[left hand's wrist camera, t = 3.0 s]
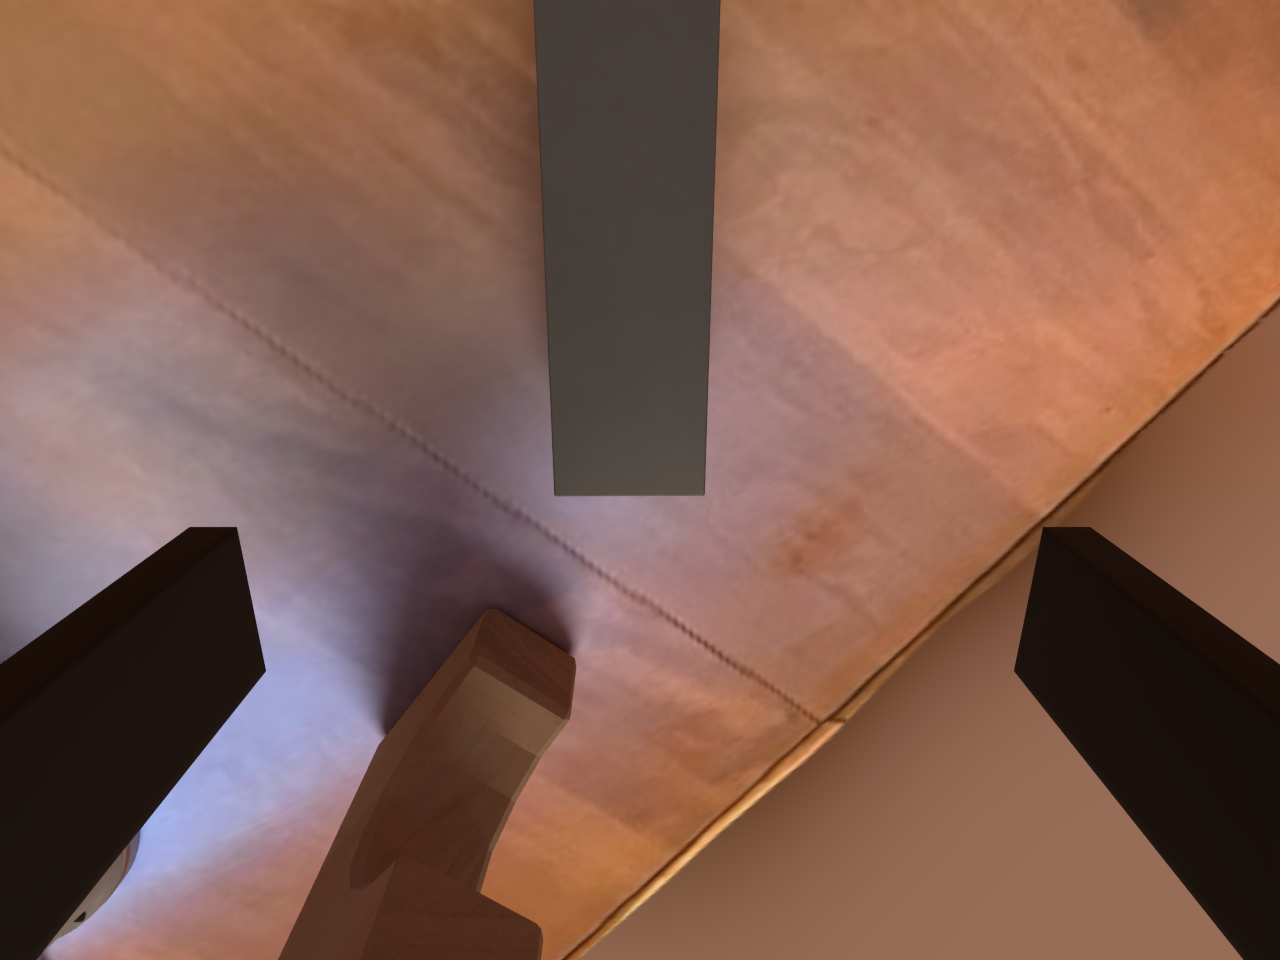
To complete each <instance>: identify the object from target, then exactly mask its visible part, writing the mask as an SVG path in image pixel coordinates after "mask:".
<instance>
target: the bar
mask: <svg viewBox="0 0 1280 960" xmlns="http://www.w3.org/2000/svg"><path fill="white" fill-rule="evenodd" d="M534 20H535V44H536V68H537V92H538V116H539V139H540V163H541V187H542V211H543V235H544V259H545V282H546V306H547V330H548V354H549V378H550V402H551V425H552V449H553V473H554V495H555V496H704V494H705V469H706V437H707V406H708V374H709V343H710V312H711V280H712V249H713V217H714V186H715V154H716V123H717V91H718V60H719V28H720V0H534Z"/></svg>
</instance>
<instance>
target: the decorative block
mask: <svg viewBox="0 0 1280 960" xmlns="http://www.w3.org/2000/svg"><path fill="white" fill-rule="evenodd" d="M575 673H576V663H575V658H573V657H572V656H570V655H569V654H567V653H565V652H564V651H562V650H561V649H559V648H558V647H556V646H554V645H553V644H551V643H550V642H548V641H547V640H545V639H543V638H542V637H540V636H539V635H537V634H536V633H534V632H533V631H531V630H529V629H528V628H526V627H525V626H523V625H522V624H520V623H518V622H517V621H515V620H514V619H512V618H511V617H509V616H508V615H506V614H504V613H503V612H501V611H500V610H498V609H497V608H495V609H487V610H486V611H485V612H484V613H483V614H482V616H481V617H480V618H479V619H478V621H477V622H476V623H475V624H474V626H473V627H472V628H471V629H470V631H469V632H468V633H467V634H466V636H465V637H464V638H463V639H462V641H461V642H460V643H459V645H458V646H457V647H456V648H455V650H454V651H453V652H452V653H451V655H450V656H449V657H448V658H447V660H446V661H445V662H444V663H443V665H442V666H441V667H440V668H439V670H438V671H437V672H436V673H435V675H434V676H433V677H432V678H431V680H430V681H429V682H428V684H427V685H426V686H425V687H424V689H423V690H422V691H421V692H420V694H419V695H418V696H417V697H416V699H415V700H414V701H413V702H412V704H411V705H410V706H409V708H408V709H407V710H406V711H405V713H404V714H403V715H402V716H401V718H400V719H399V720H398V721H397V723H396V724H395V725H394V726H393V728H392V729H391V730H390V731H389V733H388V734H387V735H386V737H385V738H384V739H383V740H382V742H381V743H380V744H379V746H378V748H377V750H376V752H375V754H374V756H373V758H372V761H371V763H370V765H369V767H368V769H367V771H366V773H365V775H364V778H363V780H362V782H361V784H360V786H359V788H358V790H357V793H356V795H355V797H354V799H353V801H352V803H351V805H350V807H349V810H348V812H347V814H346V816H345V818H344V820H343V822H342V824H341V827H340V829H339V831H338V833H337V835H336V837H335V839H334V842H333V844H332V846H331V848H330V850H329V852H328V854H327V857H326V859H325V861H324V863H323V865H322V867H321V869H320V872H319V874H318V876H317V878H316V880H315V882H314V884H313V887H312V889H311V891H310V893H309V895H308V897H307V899H306V901H305V904H304V906H303V908H302V910H301V912H300V914H299V916H298V919H297V921H296V923H295V925H294V927H293V929H292V931H291V933H290V936H289V938H288V940H287V942H286V944H285V946H284V948H283V950H282V953H281V955H280V957H279V959H278V960H541V953H542V944H543V936H542V931H541V928H540V927H539V926H538V925H537V924H536V923H534V922H532V921H531V920H529V919H527V918H525V917H523V916H521V915H519V914H518V913H516V912H514V911H512V910H510V909H508V908H506V907H505V906H503V905H501V904H499V903H497V902H495V901H493V900H492V899H490V898H488V897H486V896H484V895H482V894H480V891H481V888H482V884H483V881H484V878H485V874H486V871H487V867H488V864H489V861H490V857H491V854H492V852H493V849H494V847H495V845H496V843H497V841H498V839H499V837H500V834H501V832H502V830H503V828H504V826H505V824H506V821H507V819H508V817H509V815H510V813H511V811H512V809H513V806H514V804H515V802H516V800H517V799H518V797H519V795H520V793H521V792H522V790H523V788H524V786H525V785H526V783H527V781H528V779H529V778H530V776H531V774H532V773H533V771H534V769H535V767H536V766H537V764H538V762H539V760H540V759H541V757H542V755H543V754H544V753H545V751H546V750H547V749H548V748H549V746H550V745H551V744H552V742H553V741H554V740H555V738H556V737H557V736H558V734H559V733H560V732H561V730H562V729H563V728H564V726H565V725H566V724H567V722H568V721H569V720H570V714H571V706H572V698H573V690H574V682H575Z"/></svg>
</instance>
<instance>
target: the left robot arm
mask: <svg viewBox="0 0 1280 960" xmlns="http://www.w3.org/2000/svg"><path fill="white" fill-rule="evenodd" d="M265 672H266V669H265V664H264V659H263V654H262V649H261V644H260V639H259V634H258V629H257V624H256V619H255V614H254V609H253V604H252V600H251V595H250V590H249V585H248V580H247V575H246V570H245V565H244V560H243V555H242V550H241V545H240V540H239V535H238V531H237V527H189V528H188V529H186V530H185V531H184V532H182V533H181V534H180V535H178V536H177V537H175V538H174V539H173V540H171V541H170V542H169V543H167V544H166V545H164V546H163V547H162V548H160V549H159V550H158V551H156V552H155V553H153V554H152V555H151V556H149V557H148V558H146V559H145V560H144V561H142V562H141V563H140V564H138V565H137V566H135V567H134V568H133V569H131V570H130V571H129V572H127V573H126V574H124V575H123V576H122V577H120V578H119V579H118V580H116V581H115V582H113V583H112V584H111V585H109V586H108V587H106V588H105V589H104V590H102V591H101V592H100V593H98V594H97V595H95V596H94V597H93V598H91V599H90V600H89V601H87V602H86V603H84V604H83V605H82V606H80V607H79V608H78V609H76V610H75V611H73V612H72V613H71V614H69V615H68V616H66V617H65V618H64V619H62V620H61V621H60V622H58V623H57V624H55V625H54V626H53V627H51V628H50V629H49V630H47V631H46V632H44V633H43V634H42V635H40V636H39V637H38V638H36V639H35V640H33V641H32V642H31V643H29V644H28V645H27V646H25V647H24V648H22V649H21V650H20V651H18V652H17V653H15V654H14V655H13V656H11V657H10V658H9V659H7V660H6V661H4V662H3V663H2V664H0V960H37V958H38V957H39V956H40V955H41V953H42V952H43V951H45V950H46V949H47V948H48V947H49V946H50V945H51V944H52V943H53V942H54V941H55V940H56V939H58V938H60V937H62V936H64V935H66V934H68V933H69V932H71V931H73V930H74V929H76V928H77V927H78V926H80V925H81V924H82V923H84V922H85V921H86V920H87V919H88V918H90V917H91V916H92V915H93V914H94V913H95V912H96V911H97V910H98V909H99V908H100V907H101V906H102V905H103V904H104V903H105V902H106V901H107V899H108V898H109V897H110V896H111V895H112V893H113V892H114V891H115V889H116V888H117V887H118V885H119V884H120V883H121V881H122V880H123V879H124V878H125V876H126V875H127V873H128V872H129V870H130V869H131V866H132V864H133V862H134V860H135V857H136V854H137V851H138V845H139V830H140V829H141V828H142V826H143V825H144V824H145V823H146V821H147V820H148V819H149V818H150V816H151V815H152V814H153V813H154V811H155V810H156V809H157V808H158V806H159V805H160V804H161V802H162V801H163V800H164V799H165V797H166V796H167V795H168V794H169V792H170V791H171V790H172V789H173V787H174V786H175V785H176V784H177V782H178V781H179V780H180V779H181V777H182V776H183V775H184V774H185V772H186V771H187V770H188V769H189V767H190V766H191V765H192V763H193V762H194V761H195V760H196V758H197V757H198V756H199V755H200V753H201V752H202V751H203V750H204V748H205V747H206V746H207V745H208V743H209V742H210V741H211V740H212V738H213V737H214V736H215V735H216V733H217V732H218V731H219V730H220V728H221V727H222V726H223V724H224V723H225V722H226V721H227V719H228V718H229V717H230V716H231V714H232V713H233V712H234V711H235V709H236V708H237V707H238V706H239V704H240V703H241V702H242V701H243V699H244V698H245V697H246V696H247V694H248V693H249V692H250V691H251V689H252V688H253V687H254V686H255V684H256V683H257V682H258V680H259V679H260V678H261V677H262V675H263V674H264V673H265ZM1014 672H1015V673H1016V674H1017V675H1018V677H1019V678H1020V679H1021V680H1022V682H1023V683H1024V684H1025V685H1026V687H1027V688H1028V689H1029V691H1030V692H1031V693H1032V694H1033V696H1034V697H1035V698H1036V699H1037V701H1038V702H1039V703H1040V704H1041V706H1042V707H1043V708H1044V709H1045V711H1046V712H1047V713H1048V714H1049V716H1050V717H1051V718H1052V719H1053V721H1054V722H1055V723H1056V724H1057V726H1058V727H1059V728H1060V730H1061V731H1062V732H1063V733H1064V735H1065V736H1066V737H1067V738H1068V740H1069V741H1070V742H1071V743H1072V745H1073V746H1074V747H1075V748H1076V750H1077V751H1078V752H1079V753H1080V755H1081V756H1082V757H1083V758H1084V760H1085V761H1086V762H1087V763H1088V765H1089V766H1090V767H1091V769H1092V770H1093V771H1094V772H1095V774H1096V775H1097V776H1098V777H1099V779H1100V780H1101V781H1102V782H1103V784H1104V785H1105V786H1106V787H1107V789H1108V790H1109V791H1110V792H1111V794H1112V795H1113V796H1114V797H1115V799H1116V800H1117V801H1118V802H1119V804H1120V805H1121V806H1122V807H1123V809H1124V810H1125V811H1126V813H1127V814H1128V815H1129V816H1130V818H1131V819H1132V820H1133V821H1134V823H1135V824H1136V825H1137V826H1138V828H1139V829H1140V830H1141V831H1142V833H1143V834H1144V835H1145V836H1146V838H1147V839H1148V840H1149V841H1150V843H1151V844H1152V845H1153V846H1154V848H1155V849H1156V850H1157V852H1158V853H1159V854H1160V855H1161V857H1162V858H1163V859H1164V860H1165V862H1166V863H1167V864H1168V865H1169V867H1170V868H1171V869H1172V870H1173V872H1174V873H1175V874H1176V875H1177V877H1178V878H1179V879H1180V880H1181V882H1182V883H1183V884H1184V885H1185V887H1186V888H1187V889H1188V891H1189V892H1190V893H1191V894H1192V896H1193V897H1194V898H1195V899H1196V901H1197V902H1198V903H1199V904H1200V906H1201V907H1202V908H1203V909H1204V911H1205V912H1206V913H1207V914H1208V916H1209V917H1210V918H1211V919H1212V921H1213V922H1214V923H1215V924H1216V926H1217V927H1218V928H1219V930H1220V931H1221V932H1222V933H1223V935H1224V936H1225V937H1226V938H1227V940H1228V941H1229V942H1230V943H1231V945H1232V946H1233V947H1234V948H1235V950H1236V951H1237V952H1238V953H1239V955H1240V956H1241V957H1242V958H1243V960H1280V664H1278V663H1277V662H1276V661H1274V660H1273V659H1271V658H1270V657H1269V656H1267V655H1266V654H1265V653H1263V652H1262V651H1260V650H1259V649H1258V648H1256V647H1255V646H1253V645H1252V644H1251V643H1249V642H1248V641H1247V640H1245V639H1244V638H1242V637H1241V636H1240V635H1238V634H1237V633H1236V632H1234V631H1233V630H1231V629H1230V628H1229V627H1227V626H1226V625H1225V624H1223V623H1222V622H1220V621H1219V620H1218V619H1216V618H1215V617H1213V616H1212V615H1211V614H1209V613H1208V612H1207V611H1205V610H1204V609H1202V608H1201V607H1200V606H1198V605H1197V604H1196V603H1194V602H1193V601H1191V600H1190V599H1189V598H1187V597H1186V596H1185V595H1183V594H1182V593H1180V592H1179V591H1178V590H1176V589H1175V588H1174V587H1172V586H1171V585H1169V584H1168V583H1167V582H1165V581H1164V580H1162V579H1161V578H1160V577H1158V576H1157V575H1156V574H1154V573H1153V572H1151V571H1150V570H1149V569H1147V568H1146V567H1144V566H1143V565H1142V564H1140V563H1139V562H1138V561H1136V560H1135V559H1133V558H1132V557H1131V556H1129V555H1128V554H1127V553H1125V552H1124V551H1122V550H1121V549H1120V548H1118V547H1117V546H1116V545H1114V544H1113V543H1111V542H1110V541H1109V540H1107V539H1106V538H1104V537H1103V536H1102V535H1100V534H1099V533H1098V532H1096V531H1095V530H1094V529H1092V528H1091V527H1043V531H1042V535H1041V540H1040V545H1039V550H1038V555H1037V560H1036V565H1035V570H1034V575H1033V580H1032V585H1031V590H1030V595H1029V600H1028V604H1027V609H1026V614H1025V619H1024V624H1023V629H1022V634H1021V639H1020V644H1019V649H1018V654H1017V659H1016V664H1015V669H1014Z"/></svg>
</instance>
